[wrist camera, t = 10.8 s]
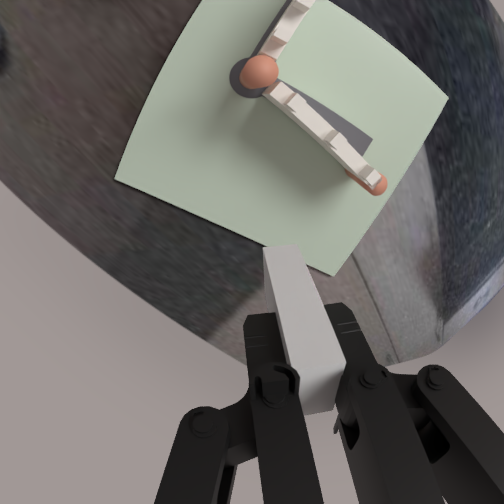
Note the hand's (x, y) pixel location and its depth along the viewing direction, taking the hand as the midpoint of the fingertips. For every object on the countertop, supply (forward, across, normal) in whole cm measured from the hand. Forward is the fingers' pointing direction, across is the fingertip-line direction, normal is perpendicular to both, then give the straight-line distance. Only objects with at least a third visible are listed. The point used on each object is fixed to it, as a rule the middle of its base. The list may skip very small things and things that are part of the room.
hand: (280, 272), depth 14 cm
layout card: (+15, +4, +5) cm, 16 cm away
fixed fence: (+15, +3, +13) cm, 20 cm away
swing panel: (+14, +6, +4) cm, 16 cm away
